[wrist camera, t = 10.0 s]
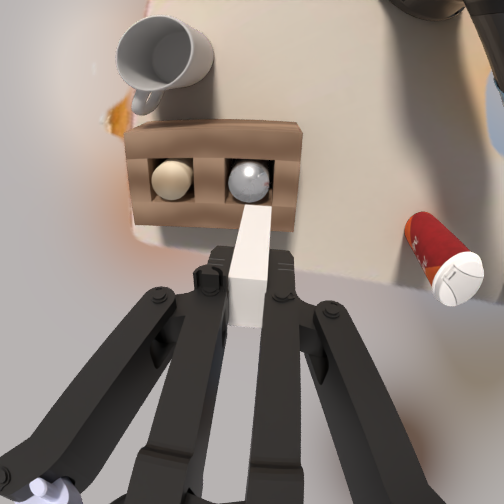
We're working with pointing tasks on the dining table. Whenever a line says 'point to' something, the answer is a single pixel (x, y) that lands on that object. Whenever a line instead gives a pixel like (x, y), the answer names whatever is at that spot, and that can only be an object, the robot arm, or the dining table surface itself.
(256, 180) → the aluminium peg
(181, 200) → the walnut socket block
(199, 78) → the mug
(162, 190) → the beech peg
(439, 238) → the coffee cup
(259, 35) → the dining table surface
